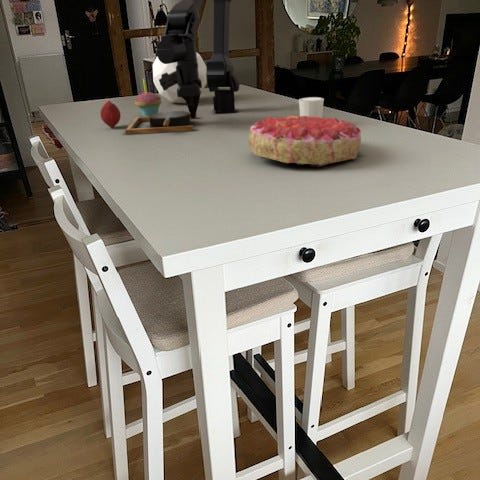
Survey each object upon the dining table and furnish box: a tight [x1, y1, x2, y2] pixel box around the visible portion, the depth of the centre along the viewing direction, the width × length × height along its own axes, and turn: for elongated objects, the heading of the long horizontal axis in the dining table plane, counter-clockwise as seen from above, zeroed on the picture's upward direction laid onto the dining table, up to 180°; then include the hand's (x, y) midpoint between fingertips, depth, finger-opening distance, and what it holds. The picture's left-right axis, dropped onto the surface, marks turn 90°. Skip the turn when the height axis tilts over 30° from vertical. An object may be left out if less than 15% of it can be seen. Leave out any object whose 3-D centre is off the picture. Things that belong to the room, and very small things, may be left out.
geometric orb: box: [152, 51, 207, 105], centre depth 186 cm, size 19×20×20 cm
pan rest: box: [125, 113, 198, 135], centre depth 155 cm, size 19×19×1 cm
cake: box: [247, 115, 362, 168], centre depth 115 cm, size 25×25×8 cm
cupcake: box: [134, 76, 162, 117], centre depth 167 cm, size 9×8×12 cm
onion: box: [99, 98, 121, 129], centre depth 154 cm, size 6×6×8 cm
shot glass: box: [298, 96, 325, 118], centre depth 142 cm, size 7×7×7 cm
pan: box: [149, 110, 191, 128], centre depth 150 cm, size 12×20×3 cm, turn 2°
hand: (193, 118), depth 154 cm, fingers closed, pressing on pan
